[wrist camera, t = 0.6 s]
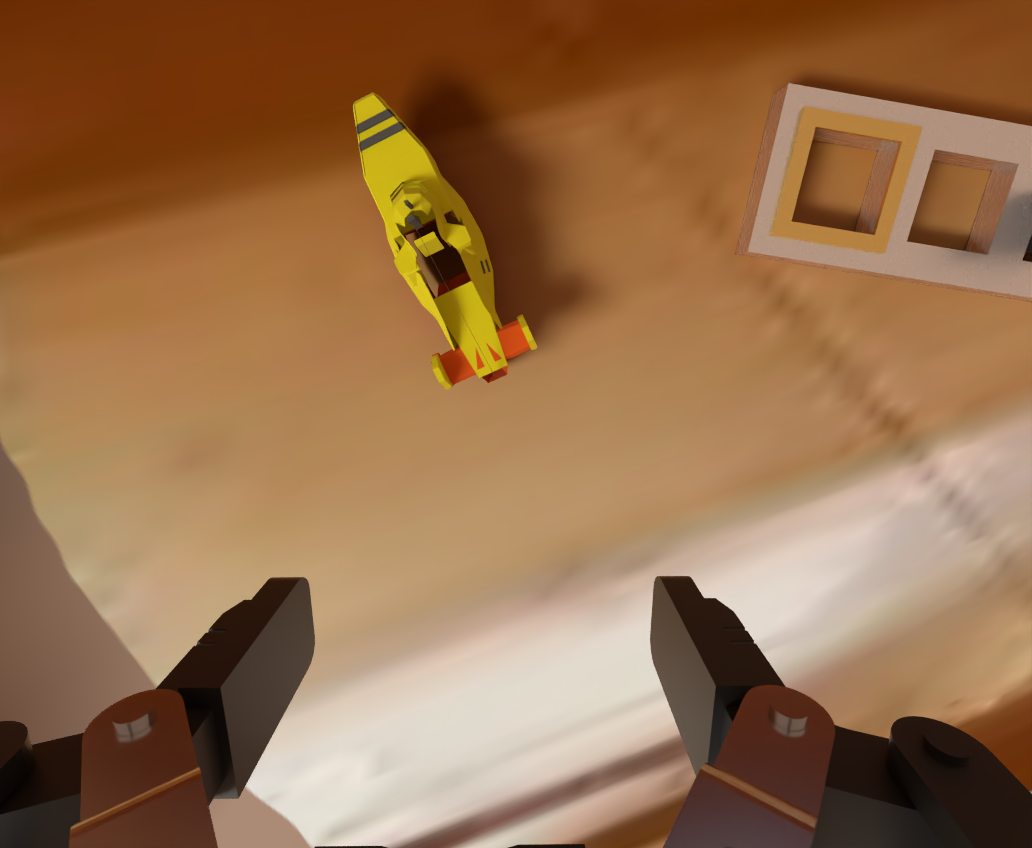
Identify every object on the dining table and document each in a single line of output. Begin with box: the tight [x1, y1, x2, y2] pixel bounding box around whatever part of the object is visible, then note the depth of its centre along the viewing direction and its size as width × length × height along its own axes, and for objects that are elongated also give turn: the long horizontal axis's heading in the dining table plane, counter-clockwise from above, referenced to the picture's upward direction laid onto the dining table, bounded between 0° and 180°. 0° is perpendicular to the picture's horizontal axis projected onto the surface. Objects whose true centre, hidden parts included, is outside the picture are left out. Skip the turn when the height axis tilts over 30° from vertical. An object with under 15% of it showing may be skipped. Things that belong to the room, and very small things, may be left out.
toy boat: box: [353, 93, 537, 390], centre depth 32 cm, size 6×18×10 cm, turn 25°
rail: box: [735, 83, 1032, 302], centre depth 35 cm, size 10×26×2 cm, turn 81°
